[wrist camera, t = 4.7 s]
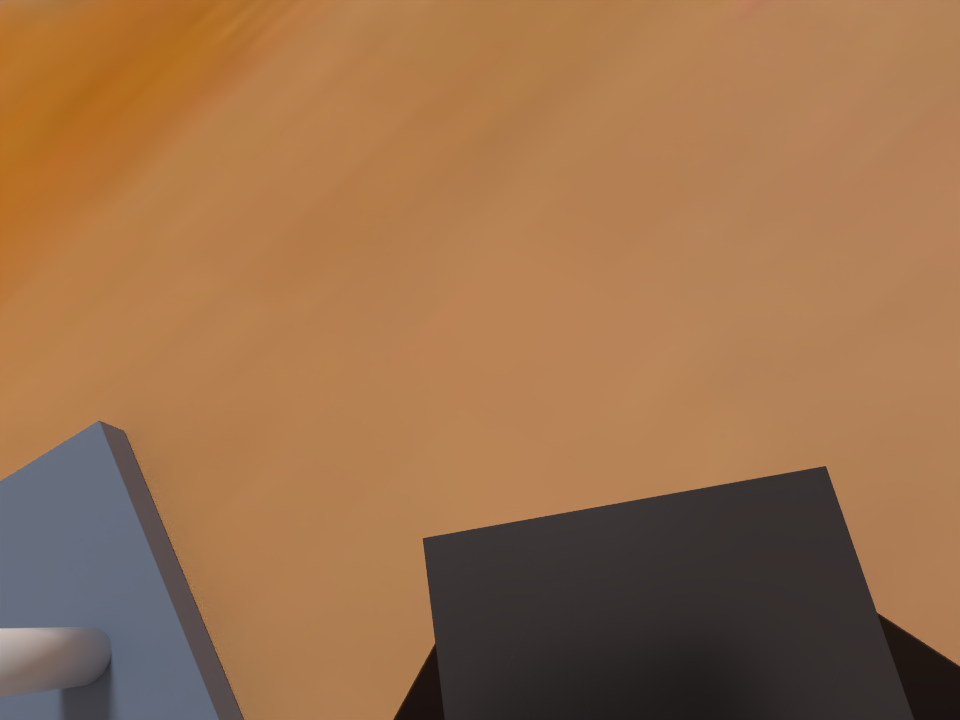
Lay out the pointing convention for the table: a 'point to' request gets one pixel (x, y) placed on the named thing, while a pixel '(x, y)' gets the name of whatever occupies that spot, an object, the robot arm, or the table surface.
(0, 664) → the grey pegged base
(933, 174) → the table surface
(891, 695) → the plate
